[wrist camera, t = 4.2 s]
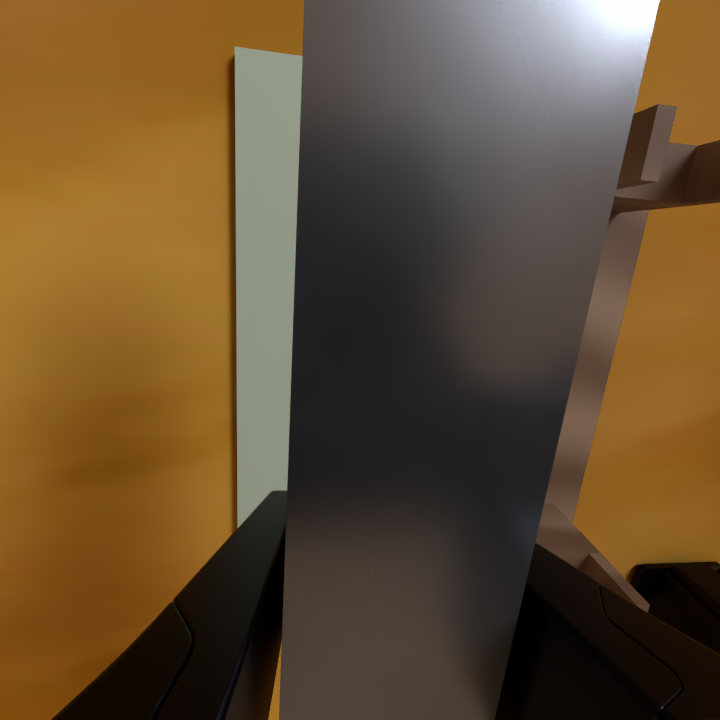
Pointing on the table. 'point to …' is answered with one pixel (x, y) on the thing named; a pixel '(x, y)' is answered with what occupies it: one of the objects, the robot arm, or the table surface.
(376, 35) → the hang rail
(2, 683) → the table surface
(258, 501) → the rubber mat
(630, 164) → the hook stand
